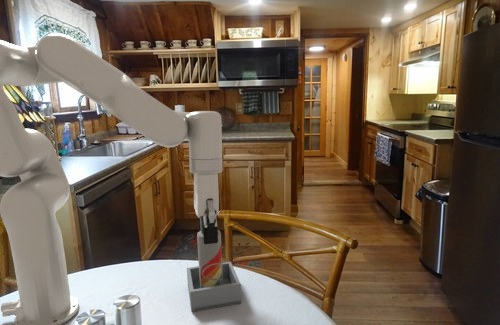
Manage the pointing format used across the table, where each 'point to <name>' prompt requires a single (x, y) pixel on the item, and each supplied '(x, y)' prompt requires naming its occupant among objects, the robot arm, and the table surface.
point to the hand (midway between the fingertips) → (208, 235)
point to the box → (214, 289)
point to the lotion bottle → (209, 260)
